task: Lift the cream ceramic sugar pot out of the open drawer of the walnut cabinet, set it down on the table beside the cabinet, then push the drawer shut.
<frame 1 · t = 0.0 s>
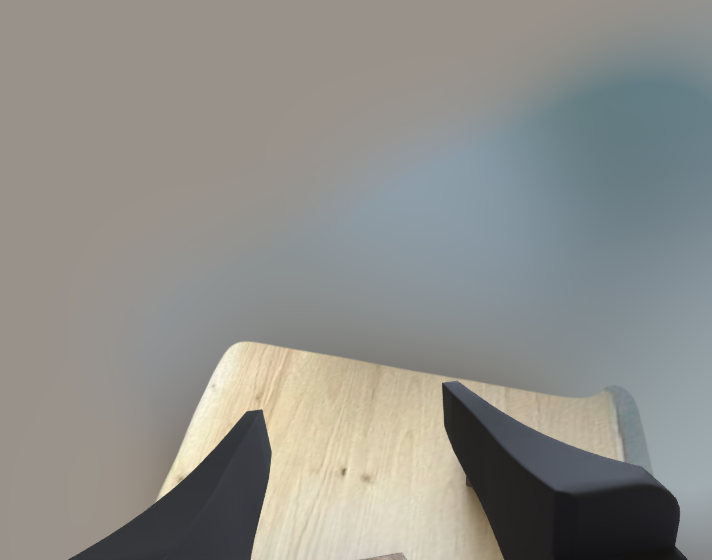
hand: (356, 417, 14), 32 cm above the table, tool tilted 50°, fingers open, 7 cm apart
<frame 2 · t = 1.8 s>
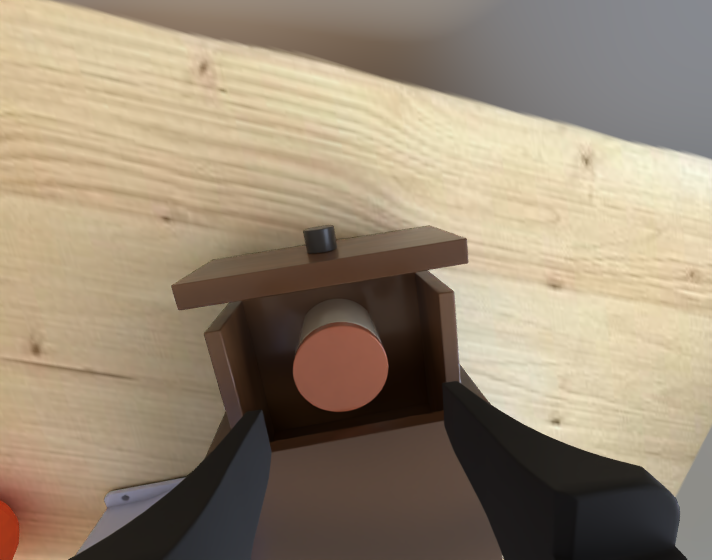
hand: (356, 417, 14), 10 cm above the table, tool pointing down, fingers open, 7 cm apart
sugar pot: (338, 334, 22), point 2 cm above the table, touching drawer
cabinet: (357, 443, 26), on the table
drawer: (339, 346, 20), point 4 cm above the table, slide at 7.5 cm, touching sugar pot
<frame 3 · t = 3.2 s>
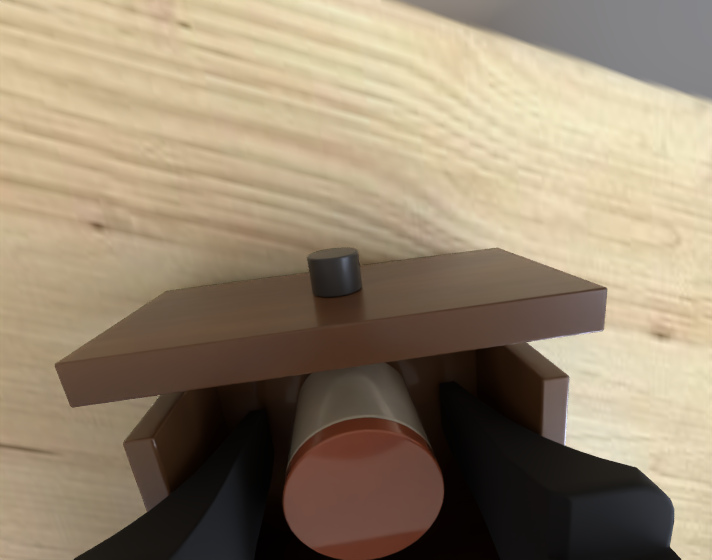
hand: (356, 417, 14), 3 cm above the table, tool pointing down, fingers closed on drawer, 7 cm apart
sugar pot: (354, 407, 14), point 2 cm above the table, touching drawer
drawer: (357, 436, 13), point 4 cm above the table, slide at 7.5 cm, touching gripper, sugar pot
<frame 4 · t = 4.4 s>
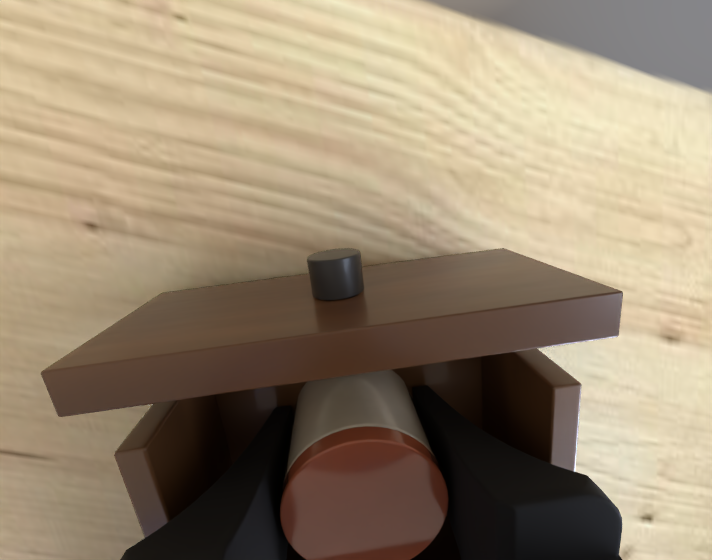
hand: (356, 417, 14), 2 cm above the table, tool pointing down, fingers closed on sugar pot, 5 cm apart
sugar pot: (354, 412, 14), point 2 cm above the table, touching drawer, gripper
drawer: (359, 443, 12), point 4 cm above the table, slide at 7.5 cm, touching sugar pot
when the fingers open (0 cm above the table, at t = 9.7 s): sugar pot stays where it is, on the table.
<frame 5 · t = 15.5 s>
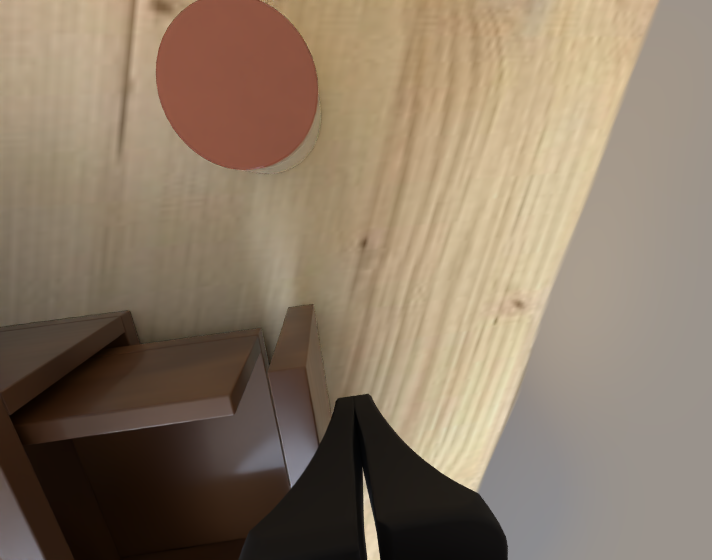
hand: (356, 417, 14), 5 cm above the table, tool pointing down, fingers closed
sugar pot: (264, 114, 15), on the table
cabinet: (38, 456, 18), on the table
drawer: (203, 488, 15), point 4 cm above the table, slide at 7.5 cm, touching gripper
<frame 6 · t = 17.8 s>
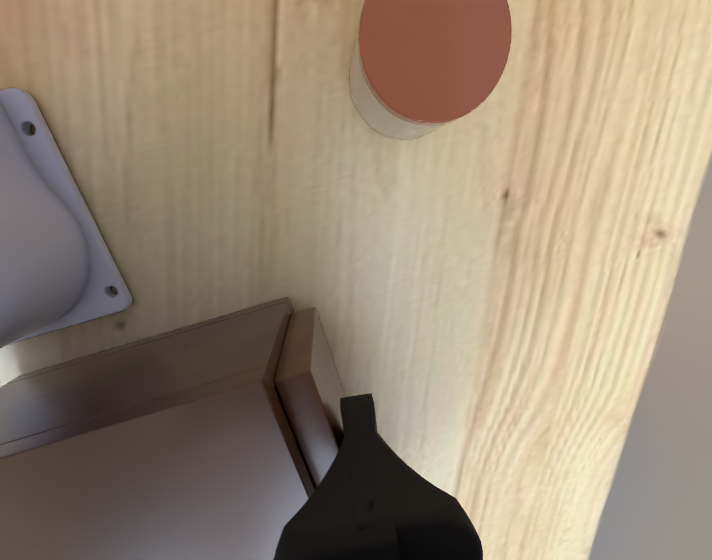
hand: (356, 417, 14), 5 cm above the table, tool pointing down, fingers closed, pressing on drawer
sugar pot: (404, 80, 15), on the table
cabinet: (212, 453, 19), on the table
drawer: (236, 502, 15), point 4 cm above the table, slide at 0.0 cm, touching cabinet, gripper
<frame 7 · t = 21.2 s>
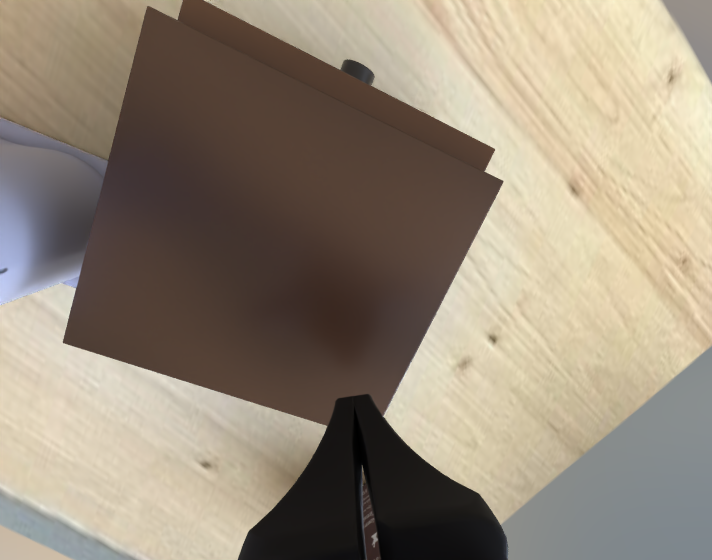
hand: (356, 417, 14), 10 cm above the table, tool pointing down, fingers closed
cabinet: (296, 236, 22), on the table
drawer: (306, 205, 18), point 4 cm above the table, slide at 0.0 cm, touching cabinet
box: (373, 513, 29), on the table
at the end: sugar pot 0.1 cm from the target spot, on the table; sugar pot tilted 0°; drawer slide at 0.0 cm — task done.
